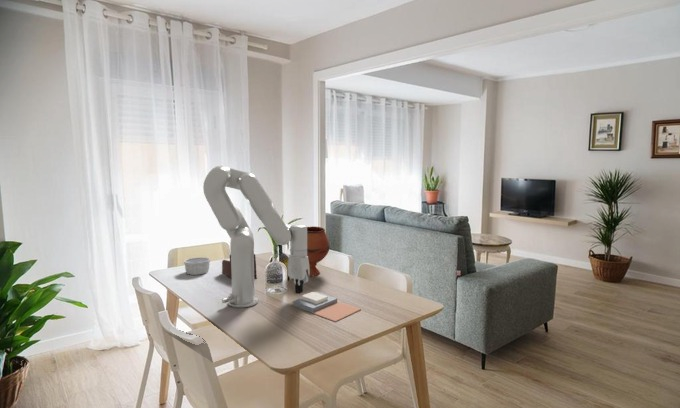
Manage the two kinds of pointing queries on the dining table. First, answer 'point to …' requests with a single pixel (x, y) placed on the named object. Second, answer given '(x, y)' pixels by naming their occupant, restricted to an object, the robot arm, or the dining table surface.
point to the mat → (337, 311)
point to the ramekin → (197, 265)
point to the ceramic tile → (314, 297)
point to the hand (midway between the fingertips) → (299, 292)
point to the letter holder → (227, 267)
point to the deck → (314, 307)
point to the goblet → (316, 247)
